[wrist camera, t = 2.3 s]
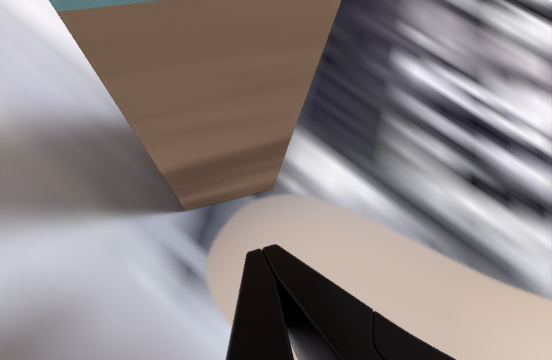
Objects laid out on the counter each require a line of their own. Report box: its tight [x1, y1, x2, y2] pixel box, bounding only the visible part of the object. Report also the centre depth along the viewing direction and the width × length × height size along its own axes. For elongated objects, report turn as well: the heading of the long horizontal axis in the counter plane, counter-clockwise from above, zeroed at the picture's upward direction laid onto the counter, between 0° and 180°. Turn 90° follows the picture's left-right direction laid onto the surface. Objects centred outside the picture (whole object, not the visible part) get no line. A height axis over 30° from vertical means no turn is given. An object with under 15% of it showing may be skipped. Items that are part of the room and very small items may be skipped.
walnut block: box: [49, 0, 341, 211], centre depth 12 cm, size 5×5×14 cm
